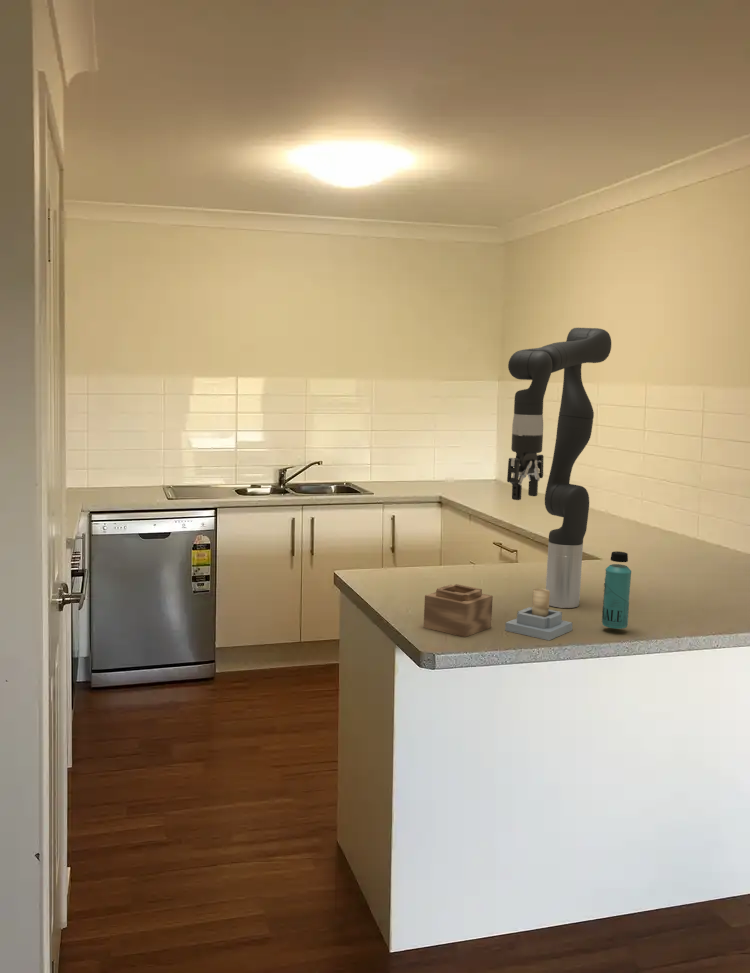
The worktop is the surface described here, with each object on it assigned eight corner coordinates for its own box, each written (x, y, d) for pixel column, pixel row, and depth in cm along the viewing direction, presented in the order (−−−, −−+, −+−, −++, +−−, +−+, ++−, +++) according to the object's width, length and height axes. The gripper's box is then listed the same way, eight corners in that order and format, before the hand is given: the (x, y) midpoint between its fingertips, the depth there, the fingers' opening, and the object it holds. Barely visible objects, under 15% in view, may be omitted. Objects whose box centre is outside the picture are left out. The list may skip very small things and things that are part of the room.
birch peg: (536, 619, 238) (538, 587, 237) (550, 622, 235) (552, 590, 234) (528, 622, 235) (530, 590, 234) (542, 625, 232) (545, 593, 231)
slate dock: (529, 621, 244) (530, 603, 243) (572, 630, 236) (573, 612, 236) (505, 630, 234) (506, 612, 234) (549, 640, 227) (550, 622, 226)
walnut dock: (450, 618, 244) (452, 581, 243) (491, 627, 237) (493, 589, 235) (423, 627, 235) (425, 589, 233) (464, 637, 227) (466, 598, 226)
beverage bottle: (623, 627, 240) (628, 549, 238) (631, 635, 234) (636, 555, 231) (597, 627, 240) (602, 549, 238) (604, 634, 234) (610, 554, 231)
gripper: (527, 430, 243) (524, 493, 245) (499, 433, 232) (497, 499, 234) (554, 432, 238) (551, 496, 241) (527, 435, 227) (524, 502, 229)
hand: (524, 497), depth 237 cm, fingers open, 8 cm apart
